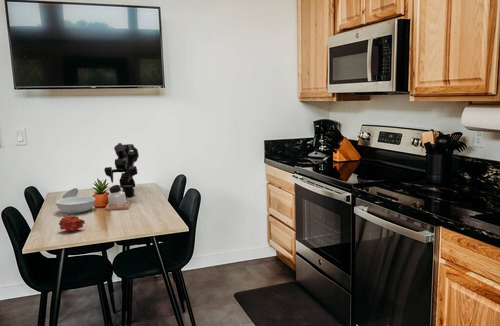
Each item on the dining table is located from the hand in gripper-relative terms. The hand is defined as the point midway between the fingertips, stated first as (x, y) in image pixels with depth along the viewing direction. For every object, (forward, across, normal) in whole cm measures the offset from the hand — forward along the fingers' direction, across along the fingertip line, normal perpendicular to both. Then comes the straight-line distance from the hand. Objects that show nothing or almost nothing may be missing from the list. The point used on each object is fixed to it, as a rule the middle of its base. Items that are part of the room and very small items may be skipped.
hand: (119, 182), depth 256 cm
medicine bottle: (+14, 0, +3) cm, 14 cm away
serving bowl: (+18, -23, +1) cm, 29 cm away
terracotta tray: (+15, 0, +4) cm, 16 cm away
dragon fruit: (+45, -13, -27) cm, 54 cm away
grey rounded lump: (+1, -34, +18) cm, 38 cm away
